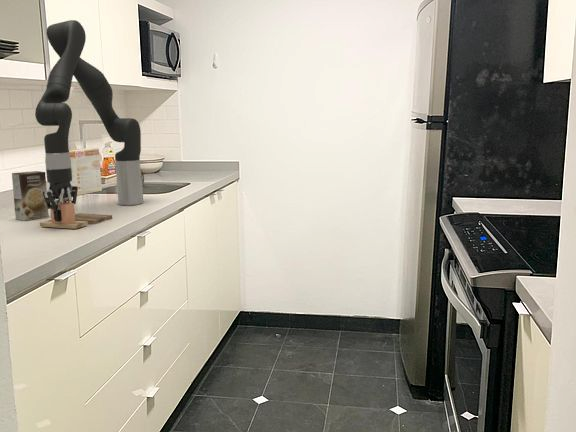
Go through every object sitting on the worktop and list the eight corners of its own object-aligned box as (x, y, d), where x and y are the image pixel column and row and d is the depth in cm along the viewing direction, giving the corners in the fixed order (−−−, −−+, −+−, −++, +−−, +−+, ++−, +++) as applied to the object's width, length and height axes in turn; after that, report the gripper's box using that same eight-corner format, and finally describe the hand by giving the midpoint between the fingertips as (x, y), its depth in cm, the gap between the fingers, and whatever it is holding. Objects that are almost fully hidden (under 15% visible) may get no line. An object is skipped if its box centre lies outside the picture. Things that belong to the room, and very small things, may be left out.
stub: (53, 222, 195) (51, 201, 194) (87, 225, 191) (86, 203, 189) (39, 226, 190) (37, 204, 188) (75, 228, 185) (73, 206, 184)
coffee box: (24, 221, 200) (19, 174, 197) (15, 219, 204) (10, 173, 201) (49, 217, 207) (45, 171, 204) (40, 215, 211) (36, 170, 208)
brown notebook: (78, 216, 207) (78, 212, 207) (112, 218, 202) (112, 214, 202) (59, 221, 198) (58, 218, 198) (93, 224, 193) (93, 220, 193)
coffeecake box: (91, 190, 272) (88, 147, 268) (102, 191, 268) (99, 148, 265) (65, 194, 259) (61, 150, 255) (77, 195, 255) (73, 150, 252)
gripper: (64, 164, 194) (69, 215, 198) (32, 169, 181) (37, 223, 184) (83, 164, 192) (87, 216, 195) (52, 169, 179) (57, 225, 182)
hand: (63, 219), depth 190 cm, fingers closed on stub, 4 cm apart
